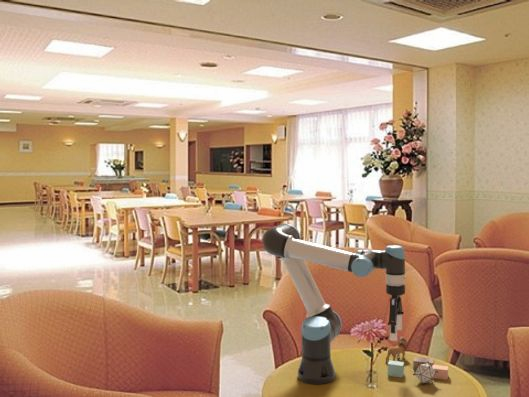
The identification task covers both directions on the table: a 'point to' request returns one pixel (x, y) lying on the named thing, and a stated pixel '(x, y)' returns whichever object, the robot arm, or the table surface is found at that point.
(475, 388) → the table surface
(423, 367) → the game die
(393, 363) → the teal block
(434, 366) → the terracotta block
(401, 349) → the lion figurine
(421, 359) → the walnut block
